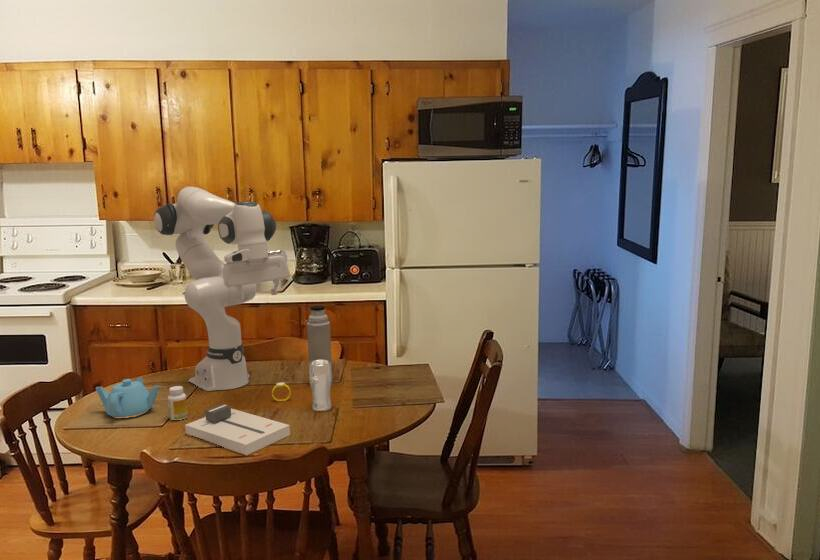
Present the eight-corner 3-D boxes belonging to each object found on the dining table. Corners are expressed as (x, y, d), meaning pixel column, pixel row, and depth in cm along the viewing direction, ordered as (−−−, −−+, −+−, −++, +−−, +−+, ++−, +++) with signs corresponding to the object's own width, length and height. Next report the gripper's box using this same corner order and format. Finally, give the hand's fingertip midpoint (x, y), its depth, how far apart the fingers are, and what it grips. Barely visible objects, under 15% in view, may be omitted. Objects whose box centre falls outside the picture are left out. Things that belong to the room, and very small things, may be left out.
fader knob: (205, 420, 194) (205, 409, 193) (222, 413, 198) (221, 403, 198) (214, 422, 191) (214, 412, 191) (231, 416, 196) (230, 406, 196)
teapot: (96, 412, 212) (93, 380, 210) (143, 400, 222) (140, 369, 220) (113, 425, 201) (109, 391, 199) (162, 412, 211) (159, 379, 209)
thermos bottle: (319, 379, 239) (315, 303, 234) (337, 382, 235) (333, 305, 230) (305, 386, 232) (301, 307, 227) (323, 389, 228) (319, 309, 223)
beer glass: (329, 412, 207) (326, 366, 204) (307, 411, 208) (305, 365, 206) (335, 404, 213) (333, 359, 211) (315, 403, 215) (313, 358, 212)
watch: (273, 403, 216) (270, 386, 215) (273, 400, 219) (270, 383, 218) (291, 400, 218) (289, 383, 216) (291, 398, 220) (289, 380, 219)
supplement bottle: (191, 415, 207) (189, 385, 205) (180, 422, 202) (177, 391, 200) (177, 414, 208) (174, 384, 207) (165, 420, 203) (163, 390, 202)
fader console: (185, 434, 192) (185, 424, 191) (229, 417, 205) (229, 407, 204) (246, 455, 177) (245, 444, 177) (290, 435, 190) (289, 424, 189)
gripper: (283, 249, 214) (288, 291, 216) (218, 257, 205) (225, 301, 207) (288, 249, 208) (294, 292, 210) (222, 258, 199) (229, 303, 201)
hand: (259, 297), depth 208 cm, fingers open, 8 cm apart
